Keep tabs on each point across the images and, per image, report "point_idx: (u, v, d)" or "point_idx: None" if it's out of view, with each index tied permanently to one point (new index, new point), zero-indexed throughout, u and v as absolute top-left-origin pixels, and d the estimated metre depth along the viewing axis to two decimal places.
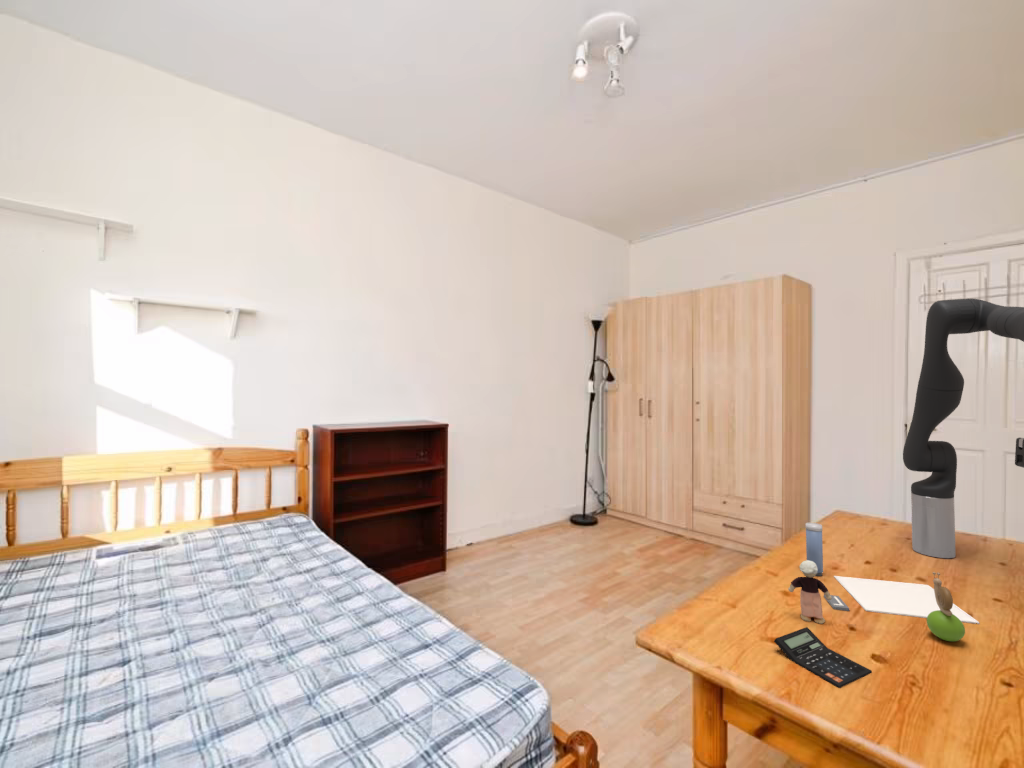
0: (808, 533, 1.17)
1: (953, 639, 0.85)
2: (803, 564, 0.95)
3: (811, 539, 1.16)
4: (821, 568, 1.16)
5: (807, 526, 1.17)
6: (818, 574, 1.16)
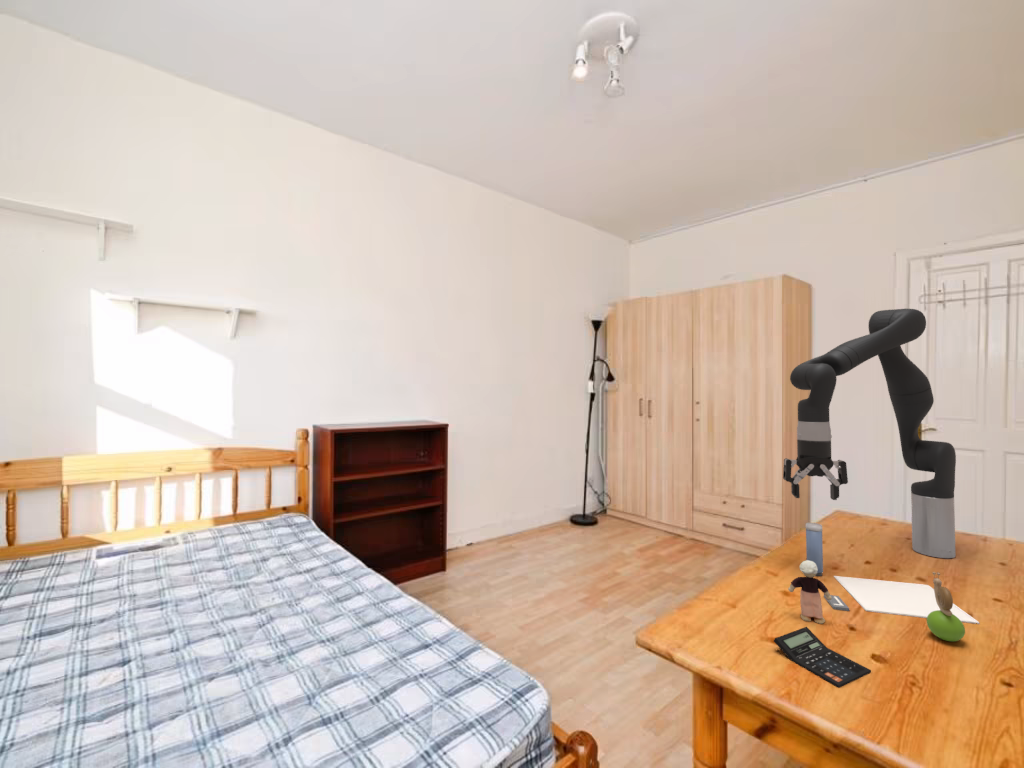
0: (808, 533, 1.17)
1: (953, 639, 0.85)
2: (803, 564, 0.95)
3: (811, 539, 1.16)
4: (821, 568, 1.16)
5: (807, 526, 1.17)
6: (818, 574, 1.16)
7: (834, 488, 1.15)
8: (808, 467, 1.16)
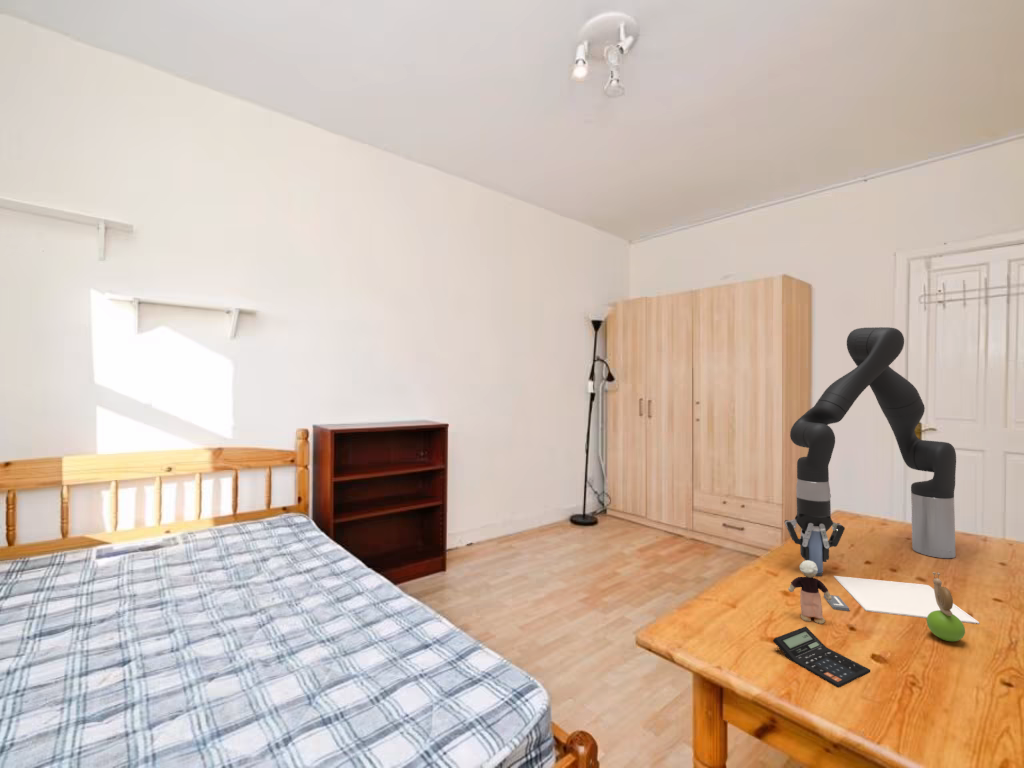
0: None
1: (953, 639, 0.85)
2: (803, 564, 0.95)
3: (811, 539, 1.16)
4: (821, 568, 1.16)
5: None
6: (818, 574, 1.16)
7: (824, 550, 1.16)
8: (808, 527, 1.16)
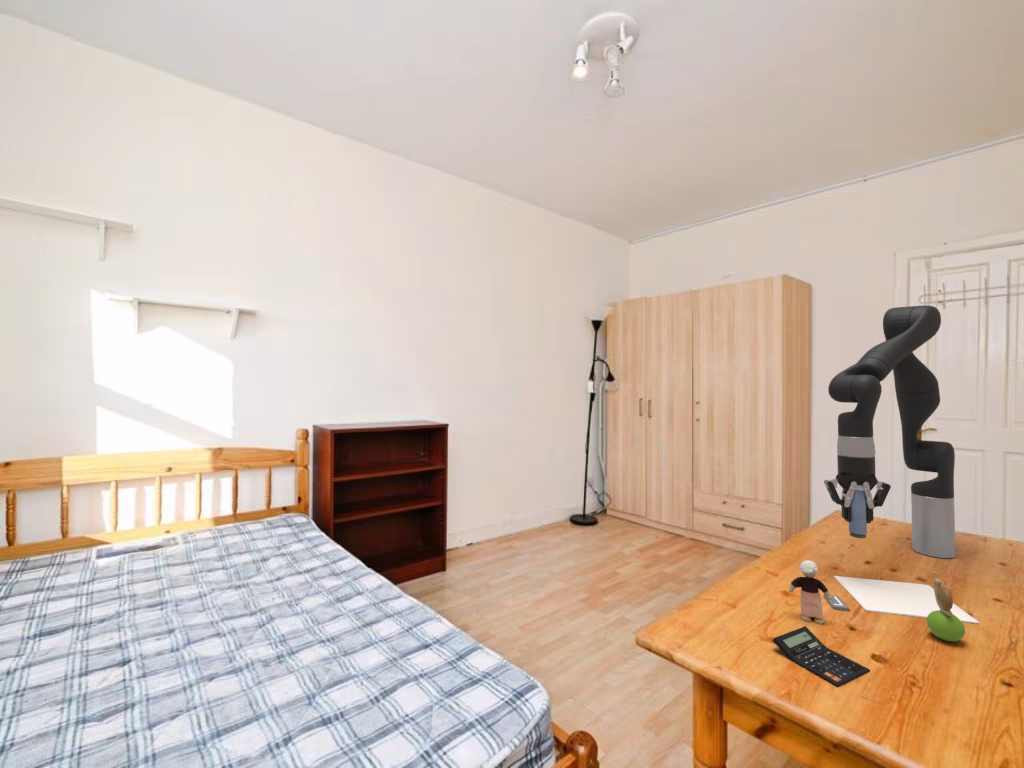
0: None
1: (953, 639, 0.85)
2: (803, 564, 0.95)
3: (854, 499, 1.09)
4: (865, 530, 1.08)
5: None
6: (862, 536, 1.09)
7: (868, 511, 1.09)
8: (851, 486, 1.09)
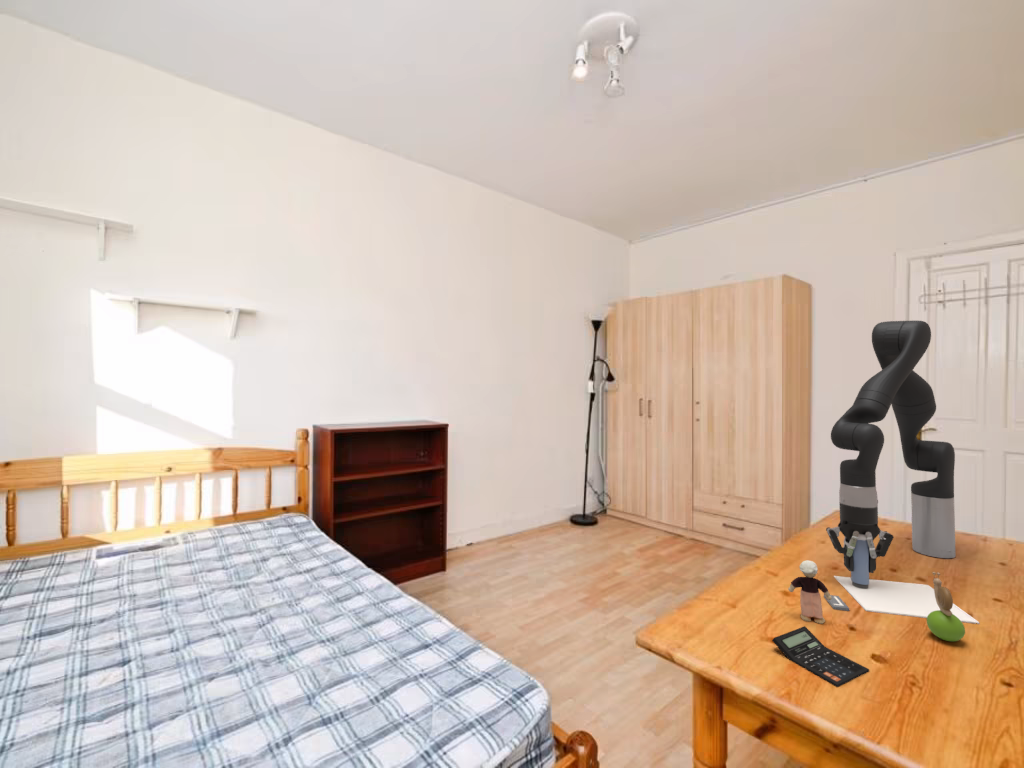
0: None
1: (953, 639, 0.85)
2: (803, 564, 0.95)
3: (856, 548, 1.08)
4: (867, 580, 1.07)
5: None
6: (864, 586, 1.08)
7: (870, 560, 1.08)
8: (853, 535, 1.08)
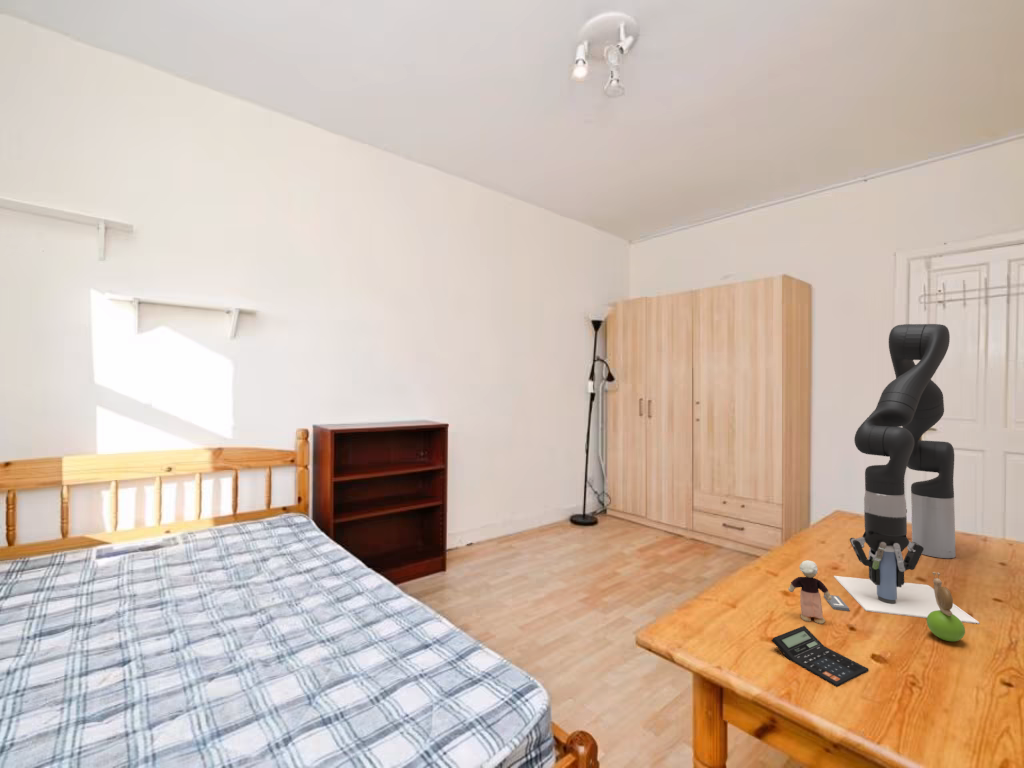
0: None
1: (953, 639, 0.85)
2: (803, 564, 0.95)
3: (883, 561, 1.01)
4: (895, 594, 1.00)
5: None
6: (891, 601, 1.00)
7: (898, 574, 1.00)
8: (880, 546, 1.01)
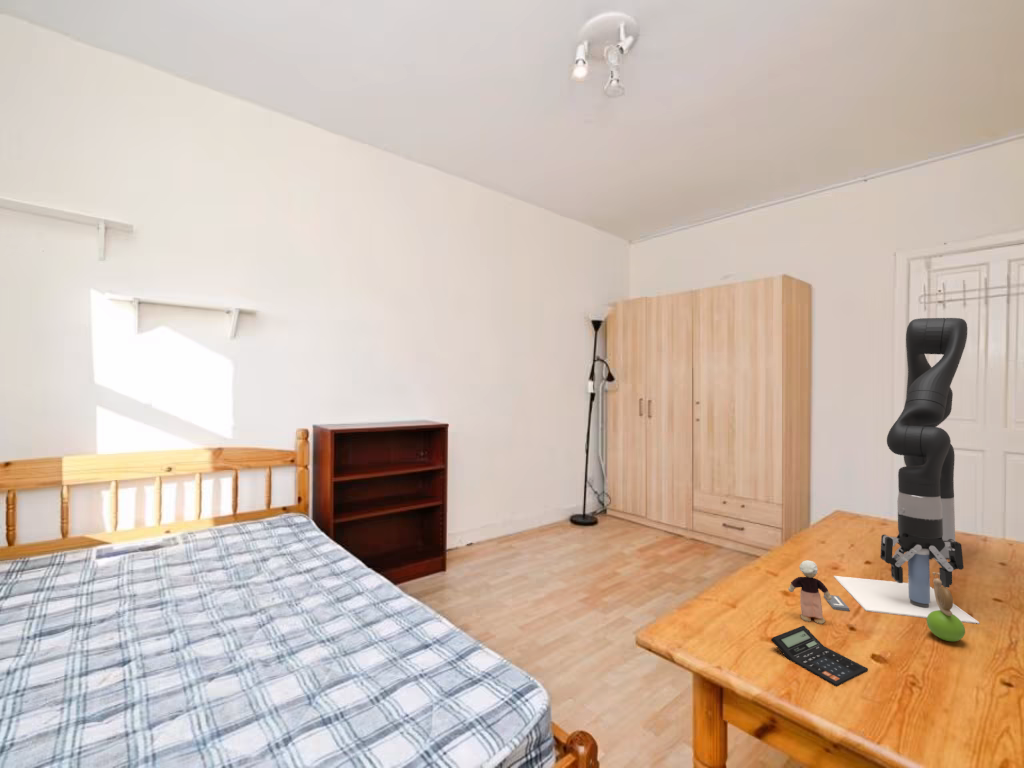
0: None
1: (953, 639, 0.85)
2: (803, 564, 0.95)
3: (916, 564, 0.99)
4: (928, 598, 0.98)
5: None
6: (925, 605, 0.98)
7: (946, 574, 0.97)
8: (914, 548, 0.99)
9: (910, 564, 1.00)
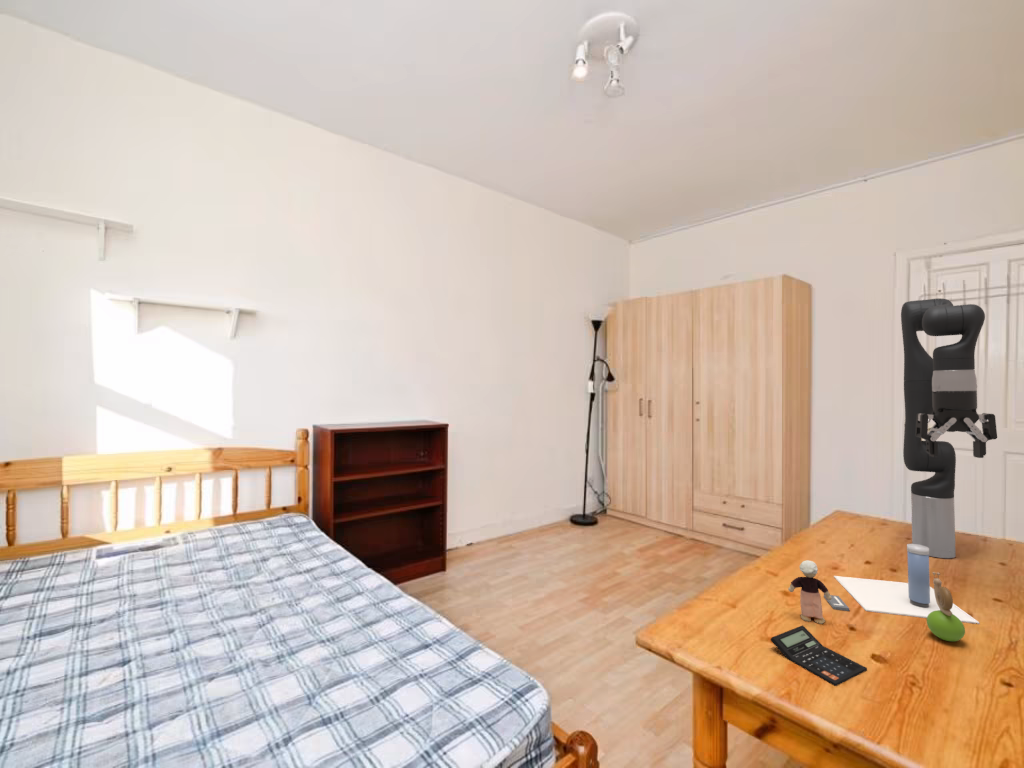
0: (911, 557, 1.00)
1: (953, 639, 0.85)
2: (803, 564, 0.95)
3: (915, 564, 0.99)
4: (928, 598, 0.98)
5: (910, 548, 1.00)
6: (925, 605, 0.98)
7: (980, 444, 1.02)
8: (949, 421, 1.03)
9: (910, 564, 1.00)
